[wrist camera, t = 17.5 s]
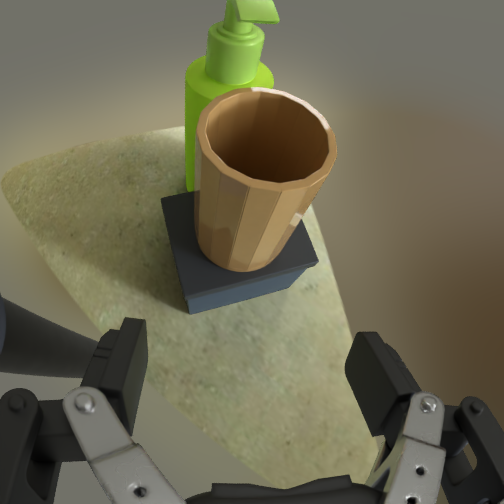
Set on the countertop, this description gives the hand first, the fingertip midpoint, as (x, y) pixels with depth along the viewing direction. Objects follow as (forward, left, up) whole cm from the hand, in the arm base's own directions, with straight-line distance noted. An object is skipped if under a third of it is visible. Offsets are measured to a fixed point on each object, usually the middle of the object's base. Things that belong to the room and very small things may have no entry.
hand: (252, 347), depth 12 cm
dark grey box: (+3, +8, -14) cm, 17 cm away
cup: (+3, +8, -7) cm, 11 cm away
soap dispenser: (+4, +16, -15) cm, 22 cm away
